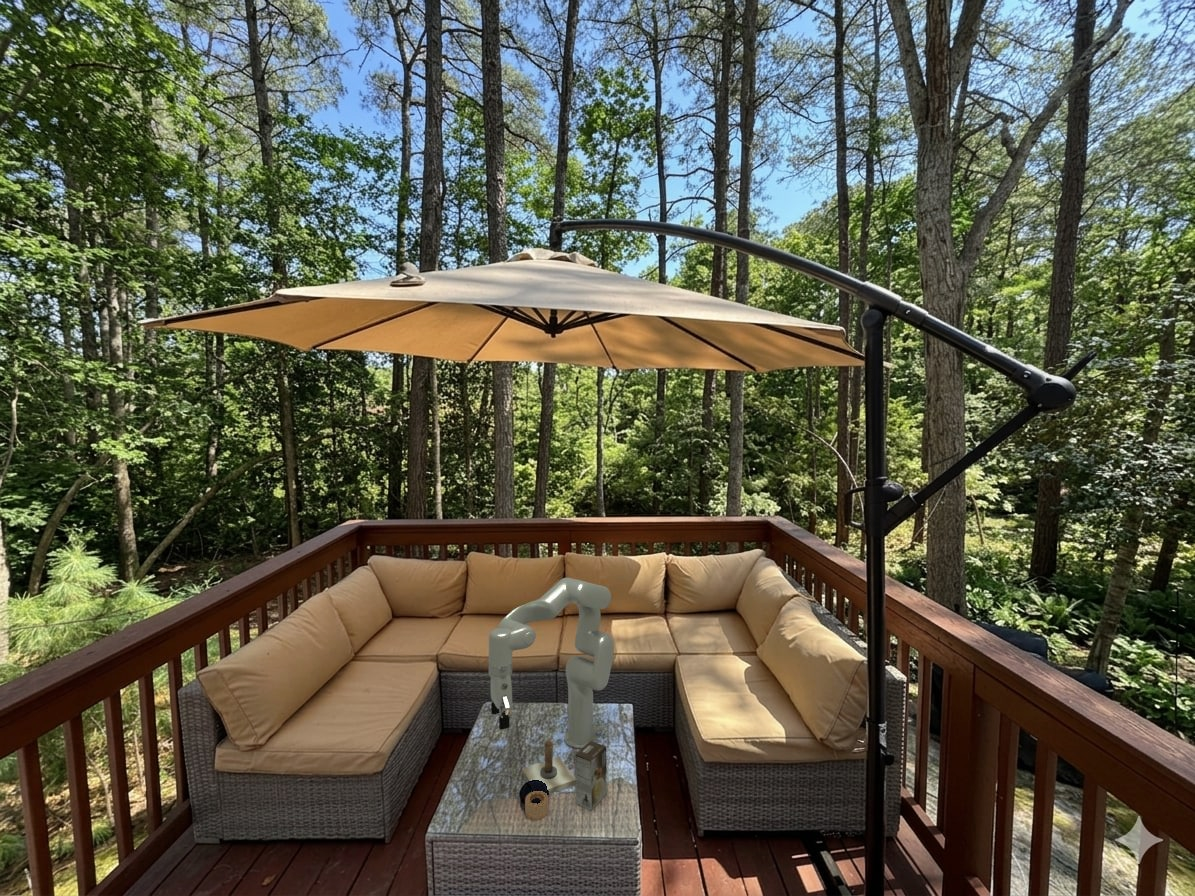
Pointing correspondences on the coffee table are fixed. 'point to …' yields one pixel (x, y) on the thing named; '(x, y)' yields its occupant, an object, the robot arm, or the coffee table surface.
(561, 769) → the post board
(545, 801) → the beige thick ring
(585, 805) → the coffee box
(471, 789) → the coffee table surface
